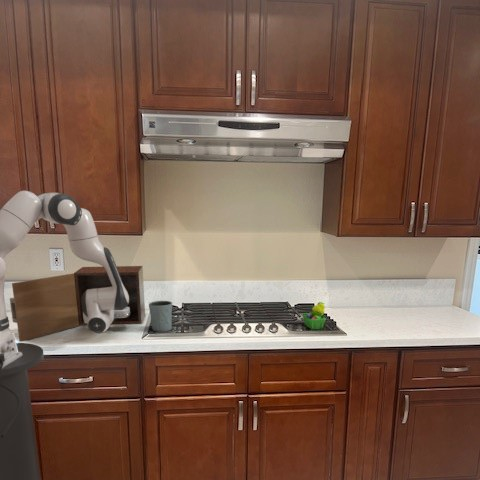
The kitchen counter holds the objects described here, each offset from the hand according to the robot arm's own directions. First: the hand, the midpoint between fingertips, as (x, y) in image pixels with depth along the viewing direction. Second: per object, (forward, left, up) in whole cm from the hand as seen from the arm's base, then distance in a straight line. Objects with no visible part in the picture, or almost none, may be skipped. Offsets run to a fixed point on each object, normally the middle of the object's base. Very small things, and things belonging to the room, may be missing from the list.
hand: (109, 308), depth 214 cm
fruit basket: (-14, -93, -8) cm, 95 cm away
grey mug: (-11, -24, -8) cm, 28 cm away
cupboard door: (-11, +25, -7) cm, 29 cm away
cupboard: (+8, 0, -8) cm, 11 cm away
